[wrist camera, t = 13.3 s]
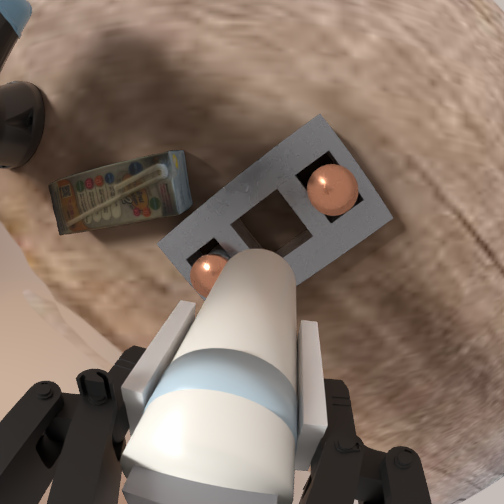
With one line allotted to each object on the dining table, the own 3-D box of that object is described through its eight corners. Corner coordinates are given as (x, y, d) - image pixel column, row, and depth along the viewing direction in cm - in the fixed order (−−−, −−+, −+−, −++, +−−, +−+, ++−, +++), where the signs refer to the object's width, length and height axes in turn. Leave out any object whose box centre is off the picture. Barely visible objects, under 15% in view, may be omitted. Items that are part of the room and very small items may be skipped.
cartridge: (216, 312, 22) (124, 522, 7) (222, 242, 21) (86, 443, 6) (289, 323, 22) (275, 555, 7) (302, 254, 20) (316, 494, 5)
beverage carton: (196, 208, 42) (179, 219, 35) (81, 227, 45) (55, 239, 38) (186, 148, 39) (167, 148, 33) (71, 176, 42) (43, 182, 36)
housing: (170, 233, 43) (156, 243, 38) (316, 118, 36) (320, 113, 31) (236, 310, 45) (229, 329, 40) (381, 209, 38) (393, 218, 34)
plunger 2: (295, 178, 38) (296, 184, 32) (330, 153, 37) (338, 154, 30) (321, 213, 39) (327, 225, 32) (355, 188, 37) (368, 196, 31)
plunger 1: (197, 254, 42) (181, 273, 36) (226, 231, 41) (215, 246, 35) (222, 284, 43) (210, 307, 37) (252, 262, 42) (245, 283, 35)
